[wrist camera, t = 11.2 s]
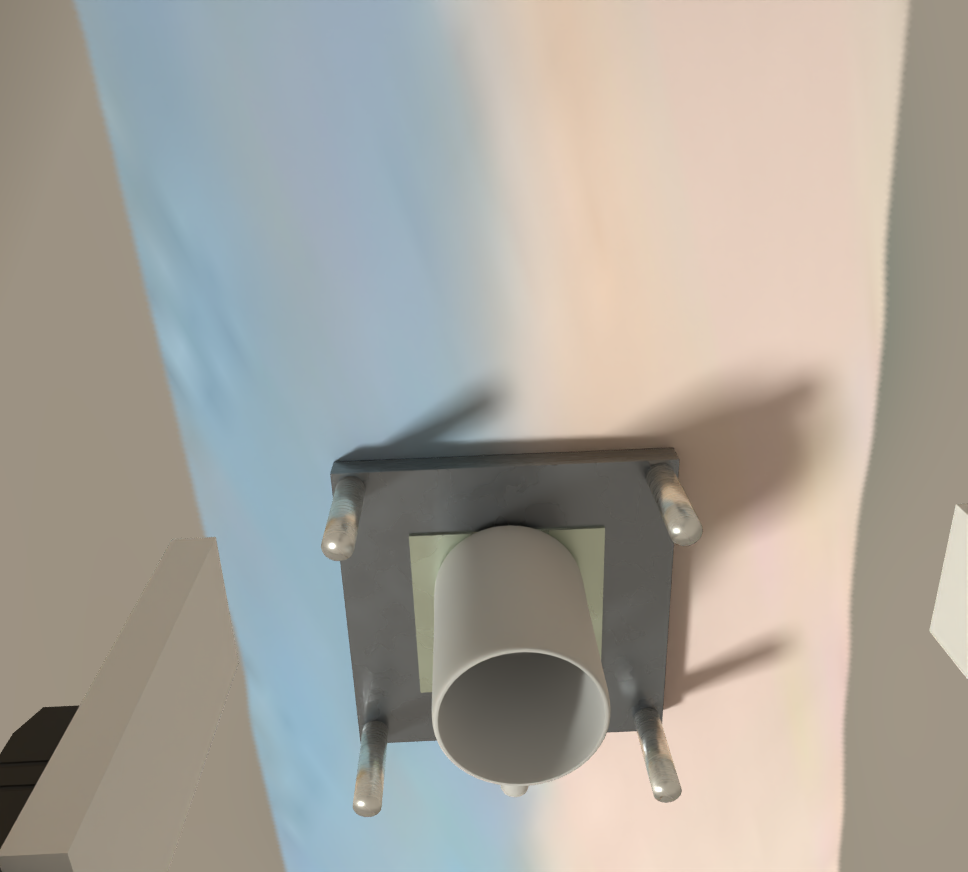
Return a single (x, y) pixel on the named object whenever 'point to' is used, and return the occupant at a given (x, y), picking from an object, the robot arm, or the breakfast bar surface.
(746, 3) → the breakfast bar surface
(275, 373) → the breakfast bar surface
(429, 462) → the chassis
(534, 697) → the mug
